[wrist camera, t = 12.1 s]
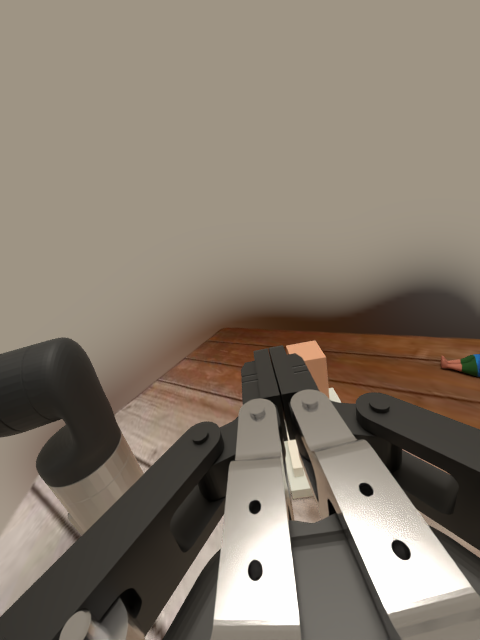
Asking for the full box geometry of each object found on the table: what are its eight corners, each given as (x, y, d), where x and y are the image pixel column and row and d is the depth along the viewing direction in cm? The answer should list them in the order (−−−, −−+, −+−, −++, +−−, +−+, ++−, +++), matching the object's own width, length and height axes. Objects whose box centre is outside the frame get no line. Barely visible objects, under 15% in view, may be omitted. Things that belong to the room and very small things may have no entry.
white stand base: (292, 499, 37) (289, 482, 35) (274, 404, 56) (271, 391, 55) (384, 486, 36) (384, 468, 34) (333, 394, 55) (332, 380, 54)
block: (303, 433, 45) (292, 363, 39) (296, 410, 51) (286, 345, 45) (332, 428, 45) (325, 357, 39) (321, 406, 50) (315, 340, 44)
